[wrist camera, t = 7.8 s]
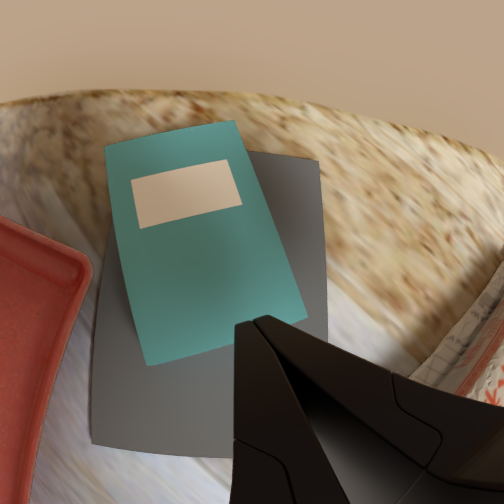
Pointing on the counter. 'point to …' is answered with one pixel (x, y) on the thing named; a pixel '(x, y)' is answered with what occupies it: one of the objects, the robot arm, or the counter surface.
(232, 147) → the box
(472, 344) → the packaged product
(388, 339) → the counter surface
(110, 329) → the mat
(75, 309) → the plant saucer
